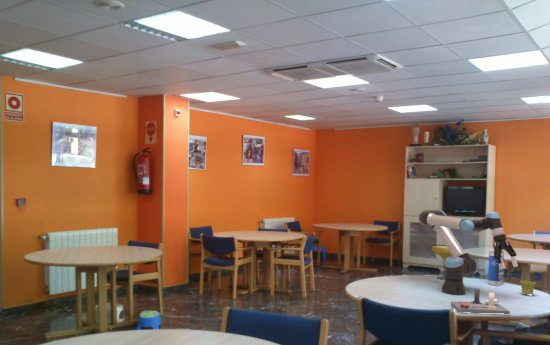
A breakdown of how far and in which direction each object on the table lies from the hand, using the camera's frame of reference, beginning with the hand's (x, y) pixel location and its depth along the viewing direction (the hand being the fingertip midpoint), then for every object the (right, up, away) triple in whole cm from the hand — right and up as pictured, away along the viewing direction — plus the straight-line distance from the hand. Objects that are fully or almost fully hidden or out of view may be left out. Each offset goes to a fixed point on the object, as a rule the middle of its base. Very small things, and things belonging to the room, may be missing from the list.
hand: (509, 267), depth 304 cm
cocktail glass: (-20, -22, +63) cm, 70 cm away
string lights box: (+14, -23, +49) cm, 56 cm away
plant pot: (+21, -23, +18) cm, 36 cm away
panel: (-30, -20, -24) cm, 43 cm away
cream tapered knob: (-25, -18, -29) cm, 42 cm away
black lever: (-29, -18, -20) cm, 40 cm away
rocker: (-20, -17, -20) cm, 33 cm away
